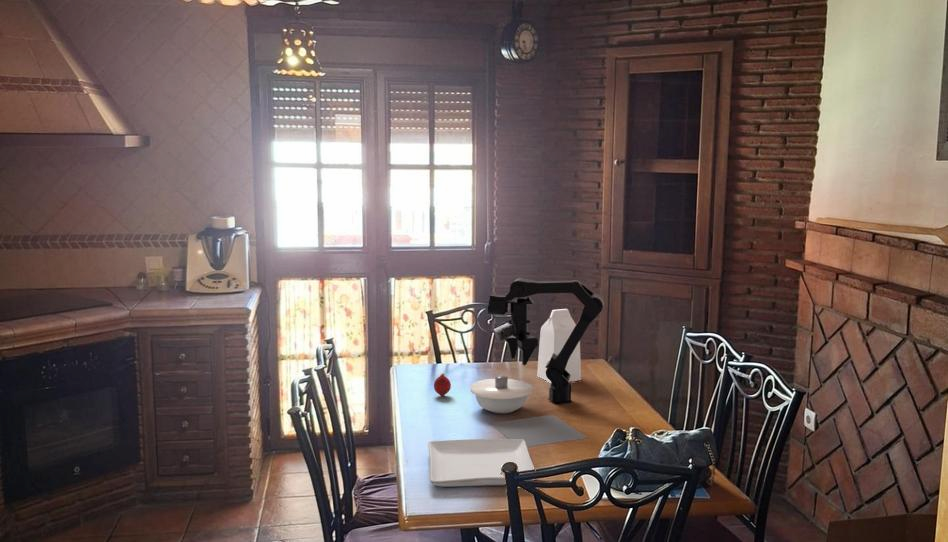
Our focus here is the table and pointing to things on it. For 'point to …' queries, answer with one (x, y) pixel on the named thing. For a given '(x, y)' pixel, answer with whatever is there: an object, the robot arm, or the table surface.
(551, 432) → the mat
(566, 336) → the milk
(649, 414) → the table surface
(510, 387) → the lid
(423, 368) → the table surface
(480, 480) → the square plate
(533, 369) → the table surface
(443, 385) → the onion
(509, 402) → the cereal bowl
